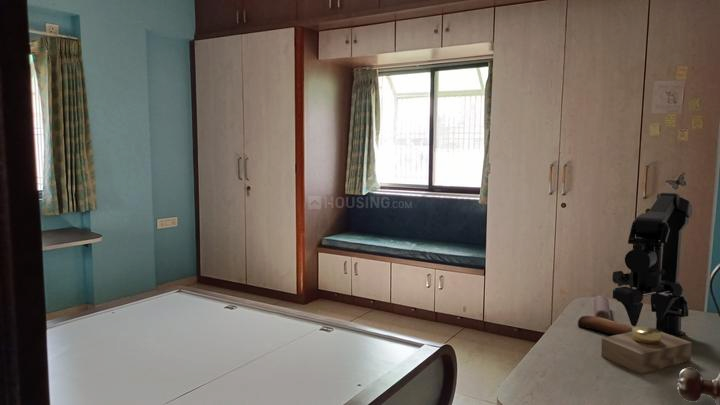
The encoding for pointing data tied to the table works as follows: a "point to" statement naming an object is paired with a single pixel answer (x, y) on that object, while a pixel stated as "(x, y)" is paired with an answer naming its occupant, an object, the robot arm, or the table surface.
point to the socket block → (646, 352)
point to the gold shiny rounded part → (646, 335)
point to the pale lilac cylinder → (602, 307)
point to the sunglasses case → (604, 325)
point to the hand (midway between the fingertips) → (646, 323)
